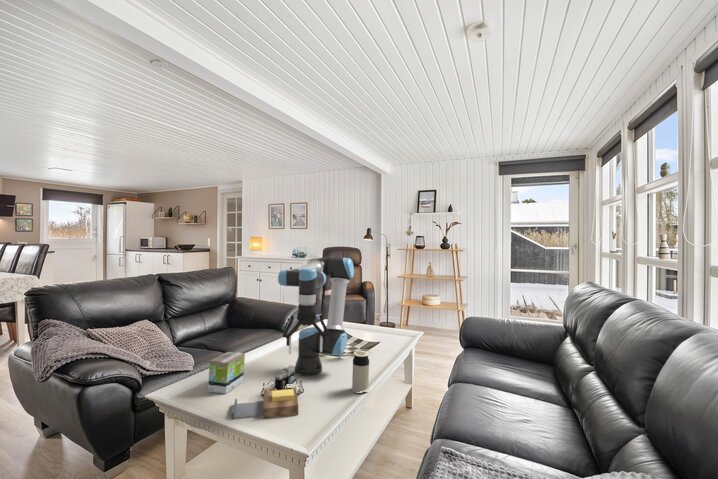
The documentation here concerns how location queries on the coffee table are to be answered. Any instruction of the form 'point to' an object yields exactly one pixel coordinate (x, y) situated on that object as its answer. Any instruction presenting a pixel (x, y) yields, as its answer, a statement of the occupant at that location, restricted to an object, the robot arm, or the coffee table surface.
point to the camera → (285, 378)
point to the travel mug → (360, 371)
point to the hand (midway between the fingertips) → (305, 352)
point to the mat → (247, 410)
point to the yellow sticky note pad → (282, 395)
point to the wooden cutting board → (279, 406)
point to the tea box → (226, 372)
